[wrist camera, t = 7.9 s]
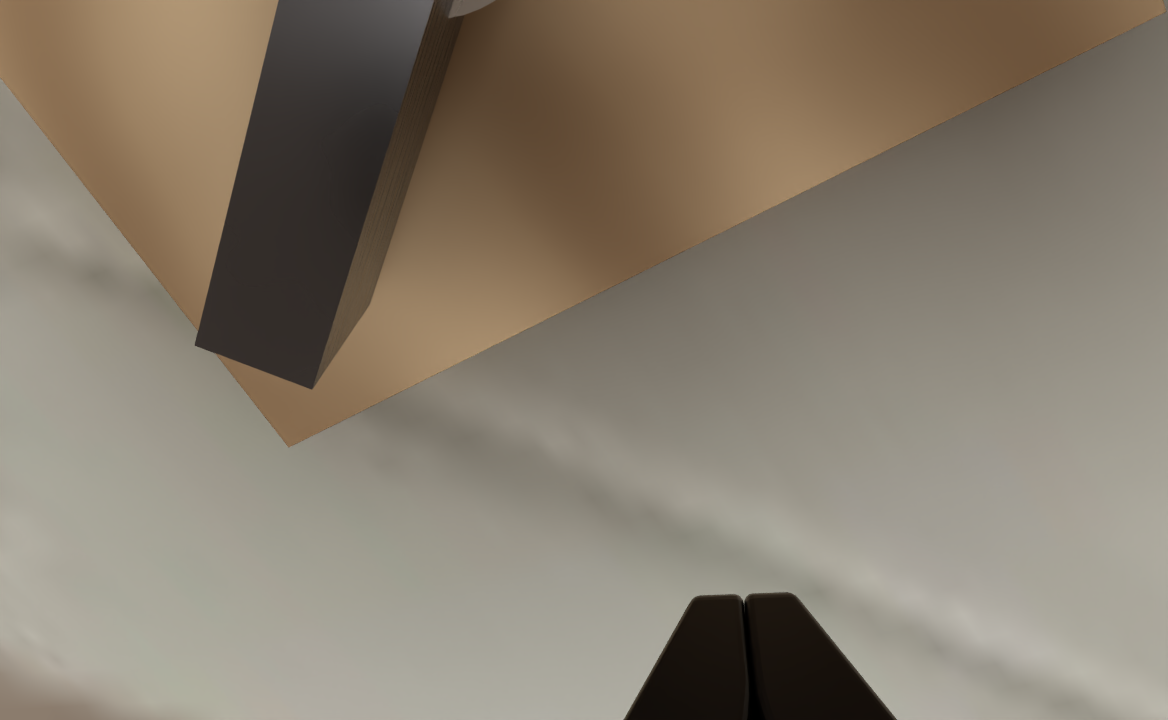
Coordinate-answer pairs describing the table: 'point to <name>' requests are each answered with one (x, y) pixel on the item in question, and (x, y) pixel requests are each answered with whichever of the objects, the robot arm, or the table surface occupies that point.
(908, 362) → the table surface
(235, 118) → the tuner board
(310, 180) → the peg knob
